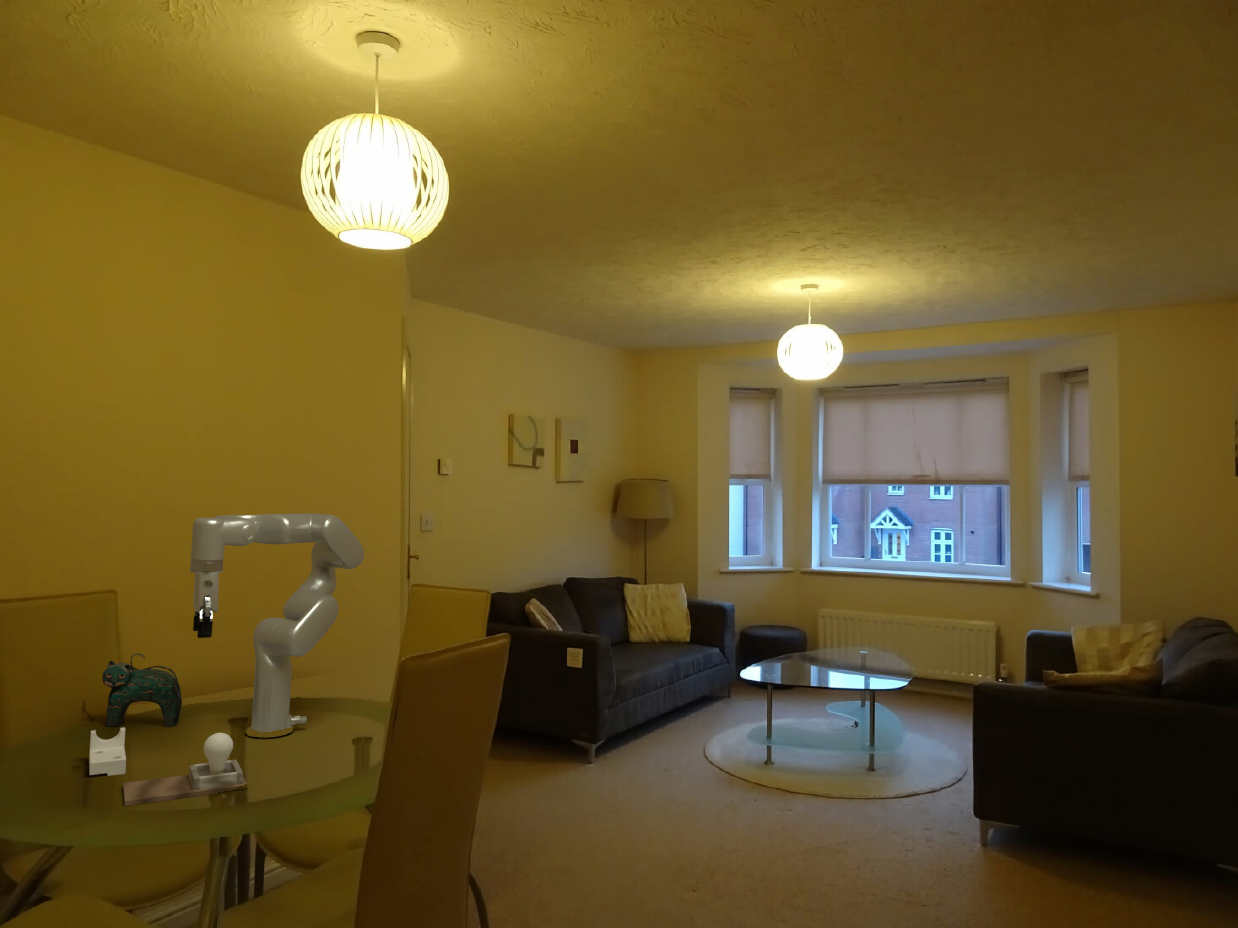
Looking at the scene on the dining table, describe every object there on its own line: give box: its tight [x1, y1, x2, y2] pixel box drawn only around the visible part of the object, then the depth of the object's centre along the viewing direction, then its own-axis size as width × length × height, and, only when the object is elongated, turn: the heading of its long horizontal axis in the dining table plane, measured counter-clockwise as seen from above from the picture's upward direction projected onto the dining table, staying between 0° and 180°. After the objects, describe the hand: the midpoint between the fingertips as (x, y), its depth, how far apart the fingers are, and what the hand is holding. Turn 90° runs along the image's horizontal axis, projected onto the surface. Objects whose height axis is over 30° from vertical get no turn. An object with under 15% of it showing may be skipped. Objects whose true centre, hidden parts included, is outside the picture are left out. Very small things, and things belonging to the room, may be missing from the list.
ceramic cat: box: [102, 652, 183, 728], centre depth 232 cm, size 20×6×20 cm, turn 99°
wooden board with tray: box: [122, 759, 248, 807], centre depth 188 cm, size 24×12×4 cm, turn 123°
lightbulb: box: [203, 732, 234, 775], centre depth 190 cm, size 6×6×11 cm
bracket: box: [88, 727, 127, 777], centre depth 198 cm, size 13×7×8 cm, turn 33°
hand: (202, 634), depth 211 cm, fingers open, 9 cm apart
